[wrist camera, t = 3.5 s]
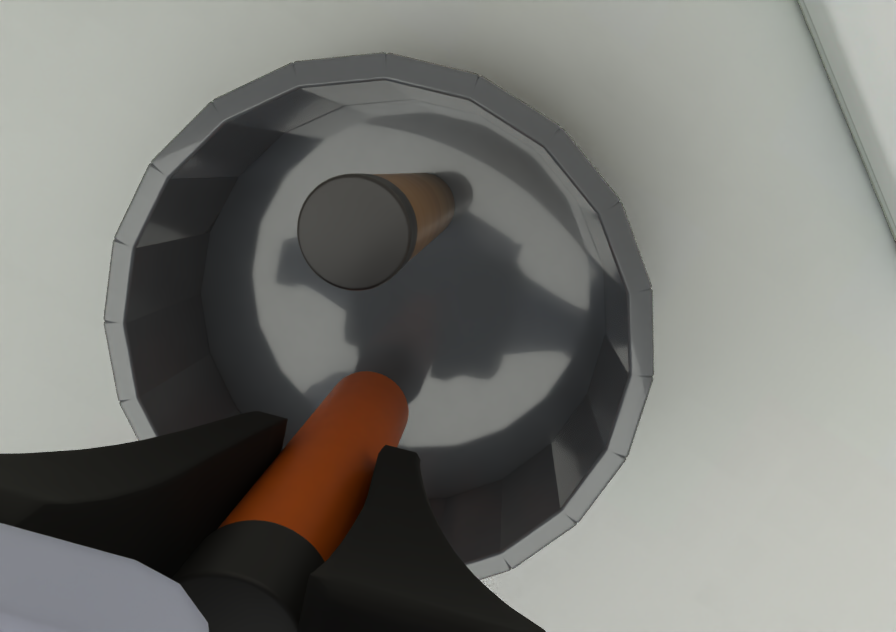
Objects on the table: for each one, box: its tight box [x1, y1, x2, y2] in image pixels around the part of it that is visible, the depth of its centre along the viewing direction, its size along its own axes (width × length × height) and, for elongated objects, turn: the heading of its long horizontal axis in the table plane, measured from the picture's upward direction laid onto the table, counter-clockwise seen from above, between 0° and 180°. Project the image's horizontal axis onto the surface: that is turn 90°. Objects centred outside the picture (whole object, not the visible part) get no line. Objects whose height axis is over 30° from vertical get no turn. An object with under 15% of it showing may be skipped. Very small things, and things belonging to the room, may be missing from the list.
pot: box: [104, 52, 654, 580], centre depth 16 cm, size 11×11×4 cm
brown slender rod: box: [297, 173, 455, 291], centre depth 13 cm, size 2×2×8 cm
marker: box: [171, 371, 409, 632], centre depth 12 cm, size 2×2×8 cm
